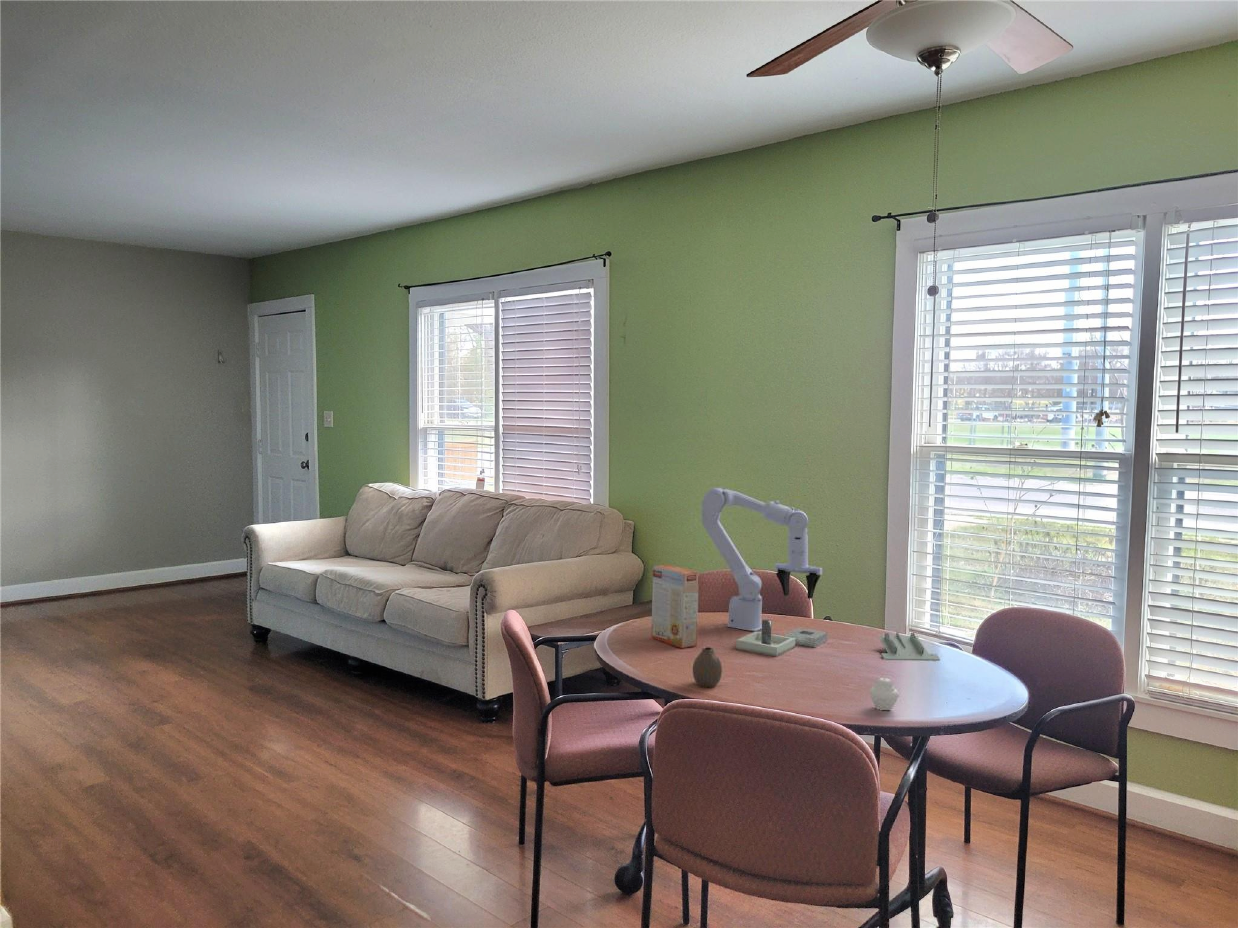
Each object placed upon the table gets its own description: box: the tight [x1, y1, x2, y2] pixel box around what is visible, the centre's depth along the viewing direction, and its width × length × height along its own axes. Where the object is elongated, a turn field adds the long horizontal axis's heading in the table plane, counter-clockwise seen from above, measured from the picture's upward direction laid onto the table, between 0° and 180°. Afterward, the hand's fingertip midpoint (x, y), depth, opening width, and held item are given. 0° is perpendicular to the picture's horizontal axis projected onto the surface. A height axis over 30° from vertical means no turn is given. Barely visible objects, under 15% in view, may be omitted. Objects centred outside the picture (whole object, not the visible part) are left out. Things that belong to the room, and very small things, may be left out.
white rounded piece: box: [869, 677, 900, 711], centre depth 192 cm, size 6×6×7 cm
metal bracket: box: [877, 631, 941, 662], centre depth 238 cm, size 14×6×15 cm
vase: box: [692, 646, 723, 688], centre depth 206 cm, size 7×7×9 cm
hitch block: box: [784, 627, 828, 648], centre depth 248 cm, size 9×9×2 cm
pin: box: [761, 619, 772, 645], centre depth 240 cm, size 3×3×7 cm
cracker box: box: [650, 564, 700, 649], centre depth 243 cm, size 14×6×21 cm, turn 34°
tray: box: [736, 630, 796, 657], centre depth 240 cm, size 12×12×2 cm
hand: (798, 596), depth 259 cm, fingers open, 7 cm apart
